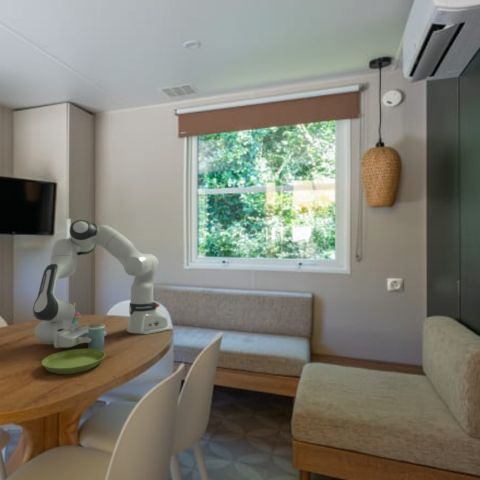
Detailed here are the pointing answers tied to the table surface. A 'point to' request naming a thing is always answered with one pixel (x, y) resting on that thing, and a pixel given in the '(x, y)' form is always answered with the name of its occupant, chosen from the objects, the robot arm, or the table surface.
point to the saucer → (73, 361)
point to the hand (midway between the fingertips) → (98, 336)
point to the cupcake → (76, 317)
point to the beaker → (96, 336)
